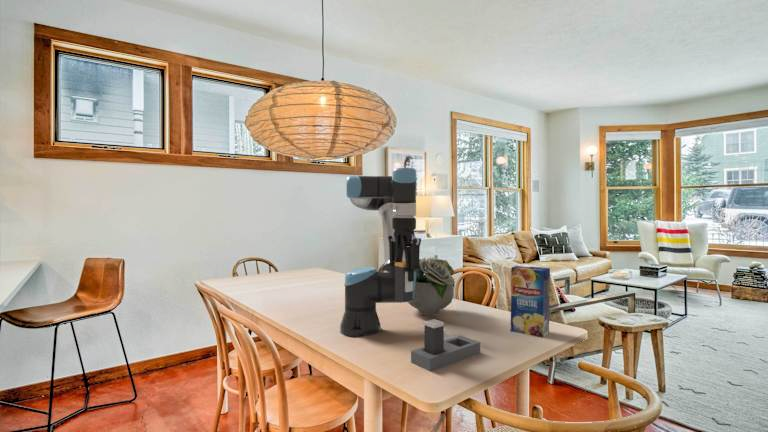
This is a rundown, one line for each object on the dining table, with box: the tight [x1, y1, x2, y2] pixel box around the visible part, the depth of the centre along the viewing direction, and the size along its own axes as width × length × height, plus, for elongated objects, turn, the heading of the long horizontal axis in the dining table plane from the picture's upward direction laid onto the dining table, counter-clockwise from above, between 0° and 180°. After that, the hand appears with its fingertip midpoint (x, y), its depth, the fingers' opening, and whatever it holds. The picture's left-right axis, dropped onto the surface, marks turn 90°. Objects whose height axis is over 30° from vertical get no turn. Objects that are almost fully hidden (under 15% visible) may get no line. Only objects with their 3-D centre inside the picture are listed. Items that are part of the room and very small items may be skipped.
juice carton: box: [510, 264, 551, 338], centre depth 151 cm, size 12×8×24 cm, turn 53°
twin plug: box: [423, 318, 445, 355], centre depth 120 cm, size 4×4×12 cm
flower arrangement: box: [407, 257, 456, 316], centre depth 176 cm, size 25×25×24 cm
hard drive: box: [444, 331, 459, 341], centre depth 144 cm, size 2×8×12 cm
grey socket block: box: [410, 335, 481, 372], centre depth 124 cm, size 8×22×4 cm, turn 128°
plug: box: [395, 261, 413, 303], centre depth 130 cm, size 4×4×12 cm
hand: (403, 289), depth 130 cm, fingers closed on plug, 4 cm apart
